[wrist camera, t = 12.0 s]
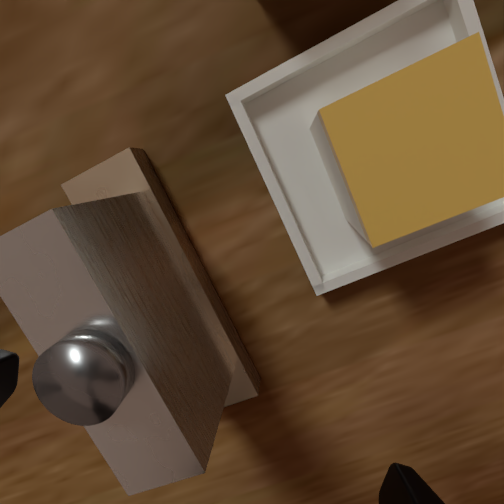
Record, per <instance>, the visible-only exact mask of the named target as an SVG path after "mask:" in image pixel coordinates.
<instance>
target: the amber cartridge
mask: <svg viewBox="0 0 504 504" xmlns="http://www.w3.org/2000/svg"><path fill="white" fill-rule="evenodd" d="M310 131H311V133H312V136H313V138H314V141H315V143H316V146H317V148H318V151H319V153H320V156H321V158H322V161H323V163H324V166H325V168H326V171H327V173H328V176H329V178H330V181H331V183H332V186H333V188H334V191H335V193H336V196H337V198H338V201H339V204H340V206H341V209H342V211H343V214H344V216H345V218H346V220H347V221H348V222H349V223H350V224H351V225H352V226H353V227H354V228H355V229H356V230H357V231H358V232H359V234H360V235H361V236H362V237H363V238H364V239H365V240H366V241H367V242H368V243H369V244H370V245H371V246H372V248H374V247H377V246H379V245H382V244H384V243H387V242H390V241H392V240H395V239H397V238H400V237H402V236H405V235H408V234H410V233H413V232H415V231H418V230H420V229H423V228H426V227H428V226H431V225H433V224H436V223H438V222H441V221H444V220H446V219H449V218H451V217H454V216H457V215H459V214H462V213H464V212H467V211H469V210H472V209H475V208H477V207H480V206H482V205H485V204H487V203H490V202H493V201H495V200H498V199H500V198H503V197H504V115H503V112H502V109H501V105H500V102H499V98H498V95H497V91H496V88H495V85H494V81H493V78H492V74H491V71H490V68H489V64H488V61H487V57H486V54H485V50H484V47H483V44H482V40H481V37H480V33H479V32H477V33H475V34H473V35H471V36H469V37H467V38H465V39H463V40H461V41H459V42H457V43H455V44H453V45H450V46H448V47H446V48H444V49H442V50H440V51H438V52H436V53H434V54H432V55H430V56H428V57H426V58H424V59H422V60H420V61H418V62H415V63H413V64H411V65H409V66H407V67H405V68H403V69H401V70H399V71H397V72H395V73H393V74H391V75H389V76H387V77H385V78H383V79H380V80H378V81H376V82H374V83H372V84H370V85H368V86H366V87H364V88H362V89H360V90H358V91H356V92H354V93H352V94H350V95H348V96H346V97H343V98H341V99H339V100H337V101H335V102H333V103H331V104H329V105H327V106H325V107H323V108H321V109H319V110H318V112H317V114H316V116H315V118H314V120H313V122H312V124H311V126H310Z"/></svg>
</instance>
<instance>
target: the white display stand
mask: <svg viewBox="0 0 504 504" xmlns="http://www.w3.org/2000/svg"><path fill="white" fill-rule="evenodd" d="M61 186H62V188H63V190H64V191H65V193H66V195H67V197H68V198H69V200H70V202H71V204H72V205H69V206H64V207H59V208H54V209H51V210H49V211H47V212H45V213H43V214H41V215H39V216H38V217H36V218H34V219H32V220H30V221H28V222H26V223H24V224H22V225H21V226H19V227H17V228H15V229H13V230H11V231H9V232H7V233H6V234H4V235H2V236H0V296H1V298H2V299H3V301H4V302H5V304H6V306H7V307H8V309H9V310H10V312H11V313H12V315H13V317H14V318H15V320H16V321H17V323H18V324H19V326H20V327H21V329H22V331H23V332H24V334H25V335H26V337H27V338H28V340H29V341H30V343H31V345H32V346H33V348H34V349H35V351H36V352H37V354H38V356H39V357H38V359H37V360H36V362H35V365H34V368H33V374H32V380H33V386H34V389H35V392H36V394H37V396H38V398H39V400H40V401H41V402H42V404H43V405H44V406H45V407H46V408H47V409H48V410H49V411H50V412H51V413H52V414H53V415H55V416H56V417H58V418H60V419H61V420H63V421H66V422H68V423H71V424H75V425H81V426H84V427H85V429H86V430H87V432H88V434H89V435H90V437H91V438H92V440H93V441H94V443H95V444H96V446H97V448H98V449H99V451H100V452H101V454H102V455H103V457H104V459H105V460H106V462H107V463H108V465H109V466H110V468H111V469H112V471H113V473H114V474H115V476H116V477H117V479H118V480H119V482H120V484H121V485H122V487H123V488H124V490H125V491H126V493H127V494H128V496H130V495H133V494H136V493H140V492H143V491H146V490H150V489H153V488H156V487H160V486H163V485H166V484H170V483H173V482H176V481H180V480H183V479H186V478H190V477H193V476H196V475H200V474H203V473H205V471H206V468H207V464H208V461H209V457H210V454H211V450H212V447H213V443H214V440H215V436H216V433H217V429H218V426H219V422H220V419H221V415H222V411H223V408H224V407H226V406H229V405H232V404H235V403H238V402H241V401H244V400H247V399H250V398H253V397H256V396H258V394H259V387H260V380H261V378H260V376H259V374H258V372H257V370H256V369H255V367H254V365H253V363H252V361H251V359H250V357H249V355H248V353H247V351H246V349H245V347H244V345H243V343H242V341H241V339H240V337H239V335H238V333H237V331H236V330H235V328H234V326H233V324H232V322H231V320H230V318H229V316H228V314H227V312H226V310H225V308H224V306H223V304H222V302H221V300H220V298H219V296H218V294H217V293H216V291H215V289H214V287H213V285H212V283H211V281H210V279H209V277H208V275H207V273H206V271H205V269H204V267H203V265H202V263H201V261H200V259H199V257H198V255H197V254H196V252H195V250H194V248H193V246H192V244H191V242H190V240H189V238H188V236H187V234H186V232H185V230H184V228H183V226H182V224H181V222H180V220H179V218H178V216H177V215H176V213H175V211H174V209H173V207H172V205H171V203H170V201H169V199H168V197H167V195H166V193H165V191H164V189H163V187H162V185H161V183H160V181H159V179H158V178H157V176H156V174H155V172H154V170H153V168H152V166H151V164H150V162H149V160H148V158H147V156H146V154H145V152H144V150H143V149H140V148H127V149H126V150H124V151H122V152H120V153H118V154H116V155H115V156H113V157H111V158H109V159H107V160H106V161H104V162H102V163H100V164H98V165H96V166H95V167H93V168H91V169H89V170H87V171H85V172H84V173H82V174H80V175H78V176H76V177H74V178H73V179H71V180H69V181H67V182H65V183H63V184H62V185H61Z"/></svg>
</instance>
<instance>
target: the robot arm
mask: <svg viewBox="0 0 504 504" xmlns="http://www.w3.org/2000/svg"><path fill="white" fill-rule="evenodd" d="M18 368H19V356H18V355H17V354H16V353H13V352H10V351H6V350H2V349H0V407H1V406H2V405H3V404H4V403H5V402H6V401H7V399H8V398H9V397H10V396H11V395H12V393H13V392H14V390H15V388H16V386H17V380H18ZM379 504H445V503H444V502H443V501H442V500H441V499H440V498H439V497H438V496H437V494H436V493H435V492H434V491H433V490H432V489H431V488H430V487H429V486H428V485H427V484H426V482H425V481H424V480H423V479H422V478H421V477H420V476H419V475H418V474H417V473H416V471H415V470H414V469H413V468H411V467H409V466H406V465H402V464H399V463H392V464H391V465H390V467H389V469H388V472H387V474H386V476H385V479H384V481H383V484H382V486H381V489H380V492H379Z"/></svg>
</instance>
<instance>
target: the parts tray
mask: <svg viewBox="0 0 504 504" xmlns="http://www.w3.org/2000/svg"><path fill="white" fill-rule="evenodd" d="M477 32H479V33H480V37H481V40H482V44H483V47H484V50H485V54H486V57H487V61H488V64H489V68H490V71H491V74H492V78H493V81H494V85H495V88H496V91H497V95H498V98H499V102H500V105H501V109H502V112H503V115H504V98H503V94H502V91H501V88H500V85H499V82H498V78H497V75H496V72H495V69H494V65H493V62H492V59H491V56H490V53H489V49H488V46H487V43H486V40H485V36H484V33H483V30H482V27H481V24H480V20H479V17H478V14H477V11H476V7H475V4H474V1H473V0H398V1H396V2H394V3H392V4H391V5H389V6H387V7H385V8H383V9H382V10H380V11H378V12H376V13H374V14H372V15H371V16H369V17H367V18H365V19H363V20H361V21H360V22H358V23H356V24H354V25H352V26H350V27H349V28H347V29H345V30H343V31H341V32H339V33H338V34H336V35H334V36H332V37H330V38H329V39H327V40H325V41H323V42H321V43H319V44H318V45H316V46H314V47H312V48H310V49H308V50H307V51H305V52H303V53H301V54H299V55H297V56H296V57H294V58H292V59H290V60H288V61H286V62H285V63H283V64H281V65H279V66H277V67H276V68H274V69H272V70H270V71H268V72H266V73H265V74H263V75H261V76H259V77H257V78H255V79H254V80H252V81H250V82H248V83H246V84H244V85H243V86H241V87H239V88H237V89H235V90H233V91H232V92H230V93H228V94H226V95H225V96H226V98H227V100H228V102H229V104H230V107H231V109H232V111H233V113H234V115H235V118H236V120H237V122H238V124H239V126H240V129H241V131H242V133H243V135H244V137H245V140H246V142H247V144H248V146H249V148H250V151H251V153H252V155H253V157H254V159H255V162H256V164H257V166H258V168H259V170H260V173H261V175H262V177H263V179H264V181H265V184H266V186H267V188H268V190H269V192H270V195H271V197H272V199H273V201H274V203H275V205H276V208H277V210H278V212H279V214H280V216H281V219H282V221H283V223H284V225H285V227H286V230H287V232H288V234H289V236H290V238H291V241H292V243H293V245H294V247H295V249H296V252H297V254H298V256H299V258H300V260H301V263H302V265H303V267H304V269H305V271H306V274H307V276H308V278H309V280H310V282H311V285H312V287H313V289H314V291H315V293H316V296H318V295H321V294H323V293H326V292H328V291H331V290H333V289H336V288H339V287H341V286H344V285H346V284H349V283H351V282H354V281H356V280H359V279H362V278H364V277H367V276H369V275H372V274H374V273H377V272H380V271H382V270H385V269H387V268H390V267H392V266H395V265H397V264H400V263H403V262H405V261H408V260H410V259H413V258H415V257H418V256H421V255H423V254H426V253H428V252H431V251H433V250H436V249H439V248H441V247H444V246H446V245H449V244H451V243H454V242H456V241H459V240H462V239H464V238H467V237H469V236H472V235H474V234H477V233H480V232H482V231H485V230H487V229H490V228H492V227H495V226H498V225H500V224H503V223H504V197H503V198H500V199H498V200H495V201H493V202H490V203H487V204H485V205H482V206H480V207H477V208H475V209H472V210H469V211H467V212H464V213H462V214H459V215H457V216H454V217H451V218H449V219H446V220H444V221H441V222H438V223H436V224H433V225H431V226H428V227H426V228H423V229H420V230H418V231H415V232H413V233H410V234H408V235H405V236H402V237H400V238H397V239H395V240H392V241H390V242H387V243H384V244H382V245H379V246H377V247H374V248H372V246H371V245H370V244H369V243H368V242H367V241H366V240H365V239H364V238H363V237H362V236H361V235H360V234H359V232H358V231H357V230H356V229H355V228H354V227H353V226H352V225H351V224H350V223H349V222H348V221H347V220H346V218H345V216H344V214H343V211H342V209H341V206H340V204H339V201H338V198H337V196H336V193H335V191H334V188H333V186H332V183H331V181H330V178H329V176H328V173H327V171H326V168H325V166H324V163H323V161H322V158H321V156H320V153H319V151H318V148H317V146H316V143H315V141H314V138H313V136H312V133H311V131H310V126H311V124H312V122H313V120H314V118H315V116H316V114H317V112H318V110H319V109H321V108H323V107H325V106H327V105H329V104H331V103H333V102H335V101H337V100H339V99H341V98H343V97H346V96H348V95H350V94H352V93H354V92H356V91H358V90H360V89H362V88H364V87H366V86H368V85H370V84H372V83H374V82H376V81H378V80H380V79H383V78H385V77H387V76H389V75H391V74H393V73H395V72H397V71H399V70H401V69H403V68H405V67H407V66H409V65H411V64H413V63H415V62H418V61H420V60H422V59H424V58H426V57H428V56H430V55H432V54H434V53H436V52H438V51H440V50H442V49H444V48H446V47H448V46H450V45H453V44H455V43H457V42H459V41H461V40H463V39H465V38H467V37H469V36H471V35H473V34H475V33H477Z"/></svg>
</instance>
